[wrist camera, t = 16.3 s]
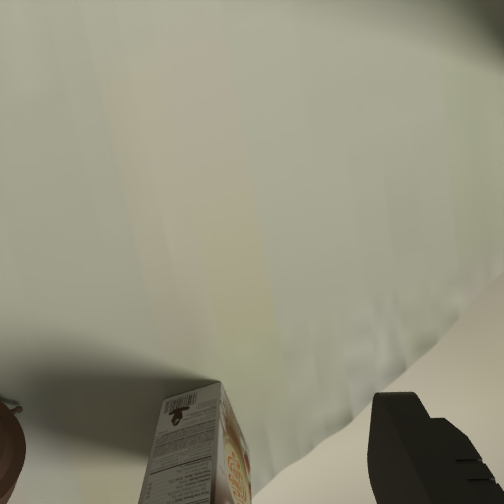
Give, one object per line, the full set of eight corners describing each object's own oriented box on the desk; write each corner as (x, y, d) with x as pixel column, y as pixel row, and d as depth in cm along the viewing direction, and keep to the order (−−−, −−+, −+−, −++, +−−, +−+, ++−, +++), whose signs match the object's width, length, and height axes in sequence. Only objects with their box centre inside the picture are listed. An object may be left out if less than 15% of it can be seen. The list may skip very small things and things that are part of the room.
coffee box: (252, 450, 47) (260, 622, 32) (193, 468, 48) (173, 645, 33) (221, 378, 44) (214, 530, 29) (158, 397, 45) (120, 556, 30)
